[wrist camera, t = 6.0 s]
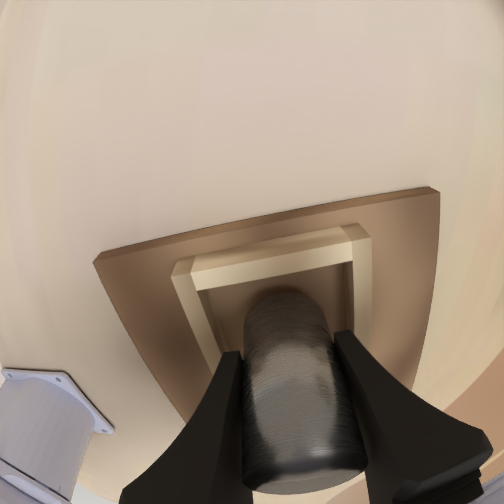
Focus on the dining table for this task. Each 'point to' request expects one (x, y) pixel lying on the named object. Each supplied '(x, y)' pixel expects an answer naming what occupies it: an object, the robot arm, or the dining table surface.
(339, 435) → the metal pin
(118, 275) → the pin board
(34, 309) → the dining table surface
